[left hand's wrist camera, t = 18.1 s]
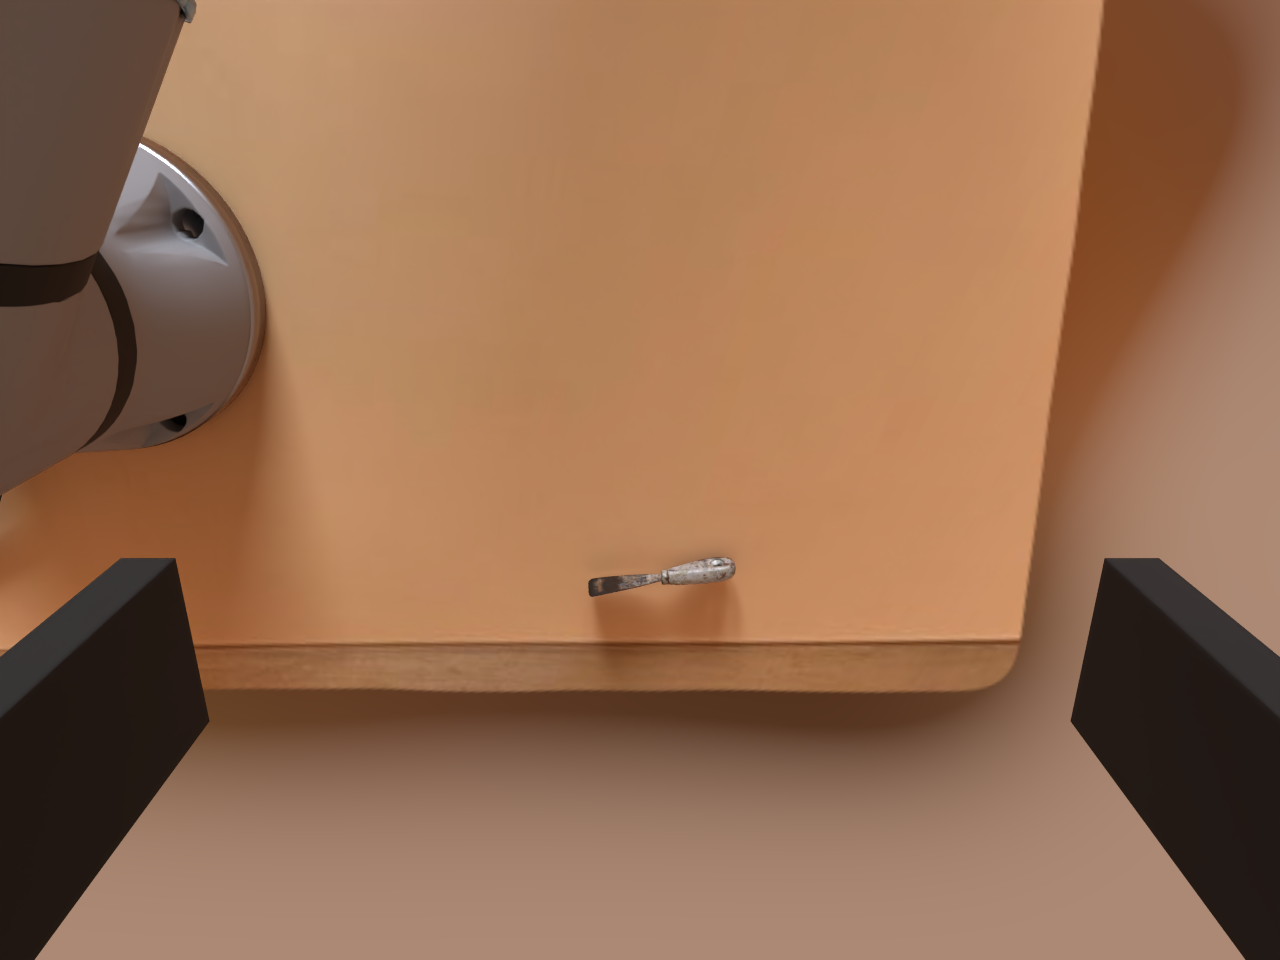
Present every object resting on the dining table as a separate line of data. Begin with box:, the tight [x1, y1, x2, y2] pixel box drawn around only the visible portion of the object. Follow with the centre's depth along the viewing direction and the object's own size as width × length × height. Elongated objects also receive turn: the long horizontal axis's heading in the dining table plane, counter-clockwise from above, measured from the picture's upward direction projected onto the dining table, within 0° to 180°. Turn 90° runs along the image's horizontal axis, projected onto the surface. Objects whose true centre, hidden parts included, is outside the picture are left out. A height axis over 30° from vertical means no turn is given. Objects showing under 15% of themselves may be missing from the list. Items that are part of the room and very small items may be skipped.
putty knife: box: [588, 557, 735, 597], centre depth 48 cm, size 1×8×2 cm, turn 100°
